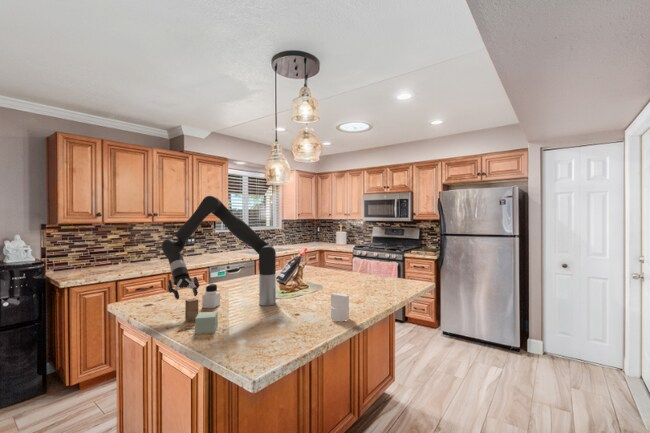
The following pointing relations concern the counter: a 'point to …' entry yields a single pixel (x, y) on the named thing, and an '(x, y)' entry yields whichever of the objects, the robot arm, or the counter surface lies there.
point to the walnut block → (191, 310)
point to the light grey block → (339, 307)
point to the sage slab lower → (206, 328)
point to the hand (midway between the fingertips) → (187, 296)
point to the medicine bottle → (210, 297)
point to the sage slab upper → (206, 319)
